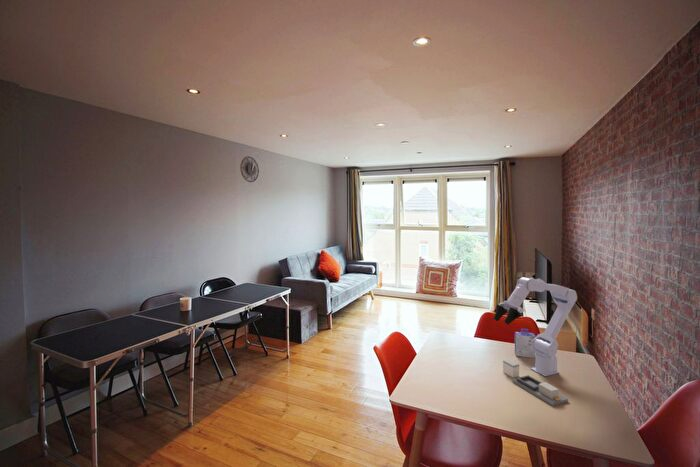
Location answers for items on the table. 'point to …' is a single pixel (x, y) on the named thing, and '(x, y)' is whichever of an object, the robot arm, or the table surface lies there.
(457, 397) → the table surface
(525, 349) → the ink cartridge box
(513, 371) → the plug
